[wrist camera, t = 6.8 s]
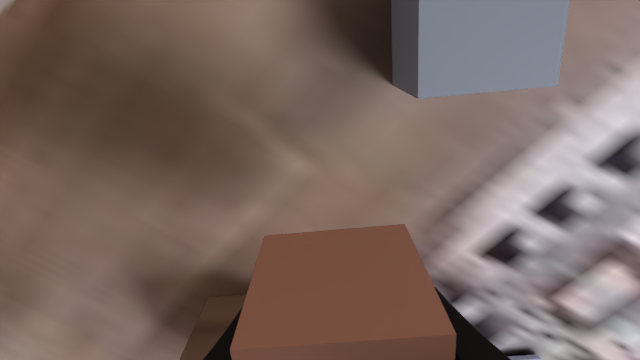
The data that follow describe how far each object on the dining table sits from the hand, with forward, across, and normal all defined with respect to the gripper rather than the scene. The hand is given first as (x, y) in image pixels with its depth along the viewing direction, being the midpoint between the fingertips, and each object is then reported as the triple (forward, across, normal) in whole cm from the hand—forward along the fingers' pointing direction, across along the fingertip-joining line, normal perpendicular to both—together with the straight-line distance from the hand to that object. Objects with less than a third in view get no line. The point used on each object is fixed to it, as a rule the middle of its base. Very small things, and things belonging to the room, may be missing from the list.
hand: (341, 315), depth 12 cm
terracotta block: (+2, 0, 0) cm, 2 cm away
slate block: (+8, -6, -9) cm, 14 cm away
